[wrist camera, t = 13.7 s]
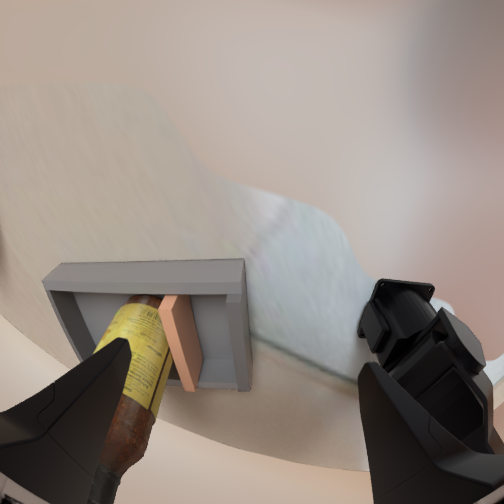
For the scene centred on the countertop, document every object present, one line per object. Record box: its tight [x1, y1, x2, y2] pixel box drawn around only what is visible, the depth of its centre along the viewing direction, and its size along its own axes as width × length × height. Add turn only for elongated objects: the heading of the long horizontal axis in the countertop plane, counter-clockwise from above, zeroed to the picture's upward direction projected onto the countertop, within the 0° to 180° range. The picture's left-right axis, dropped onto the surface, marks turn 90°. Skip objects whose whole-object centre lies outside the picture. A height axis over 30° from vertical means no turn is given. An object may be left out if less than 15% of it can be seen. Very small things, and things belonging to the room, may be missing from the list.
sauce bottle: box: [86, 294, 173, 504], centre depth 16 cm, size 6×6×20 cm
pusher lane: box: [42, 259, 252, 391], centre depth 24 cm, size 18×12×4 cm, turn 93°
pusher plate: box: [158, 294, 203, 392], centre depth 23 cm, size 1×9×4 cm, turn 4°
